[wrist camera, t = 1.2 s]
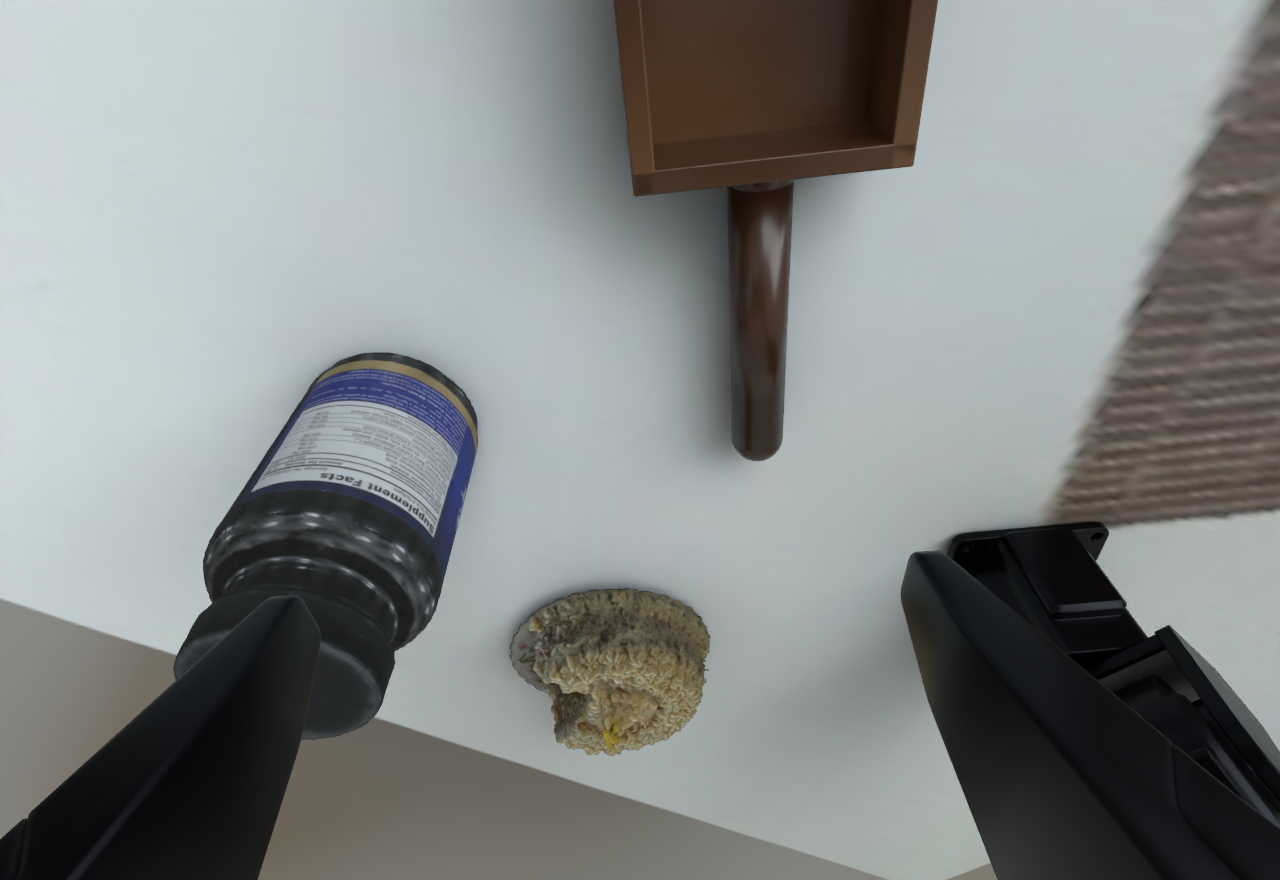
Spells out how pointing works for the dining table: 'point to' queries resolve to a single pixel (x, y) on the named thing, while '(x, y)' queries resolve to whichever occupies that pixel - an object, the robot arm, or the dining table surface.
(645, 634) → the cake
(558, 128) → the dining table surface
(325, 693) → the pill bottle
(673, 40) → the scoop
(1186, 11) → the dining table surface
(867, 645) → the dining table surface
